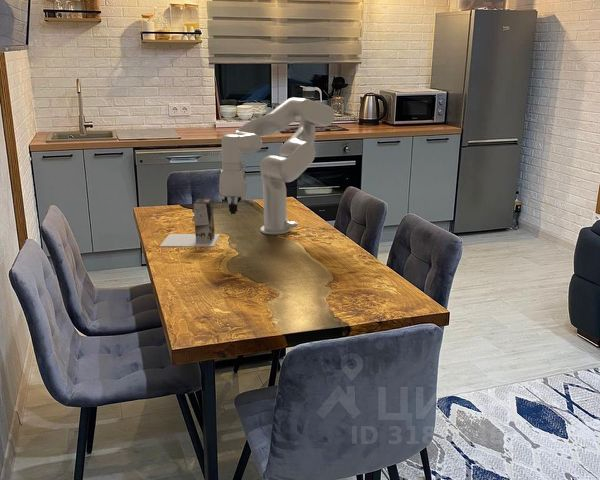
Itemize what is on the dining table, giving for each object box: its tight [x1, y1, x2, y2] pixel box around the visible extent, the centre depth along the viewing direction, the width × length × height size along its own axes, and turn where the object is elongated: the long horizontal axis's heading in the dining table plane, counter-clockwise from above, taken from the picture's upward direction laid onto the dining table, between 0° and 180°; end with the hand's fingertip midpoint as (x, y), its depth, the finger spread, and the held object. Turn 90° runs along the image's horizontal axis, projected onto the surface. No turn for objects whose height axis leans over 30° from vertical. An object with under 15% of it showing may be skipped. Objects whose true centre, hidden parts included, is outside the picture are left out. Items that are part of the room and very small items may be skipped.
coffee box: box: [193, 197, 216, 243], centre depth 234 cm, size 9×6×16 cm
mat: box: [159, 233, 221, 248], centre depth 237 cm, size 21×16×1 cm
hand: (233, 213), depth 233 cm, fingers closed
